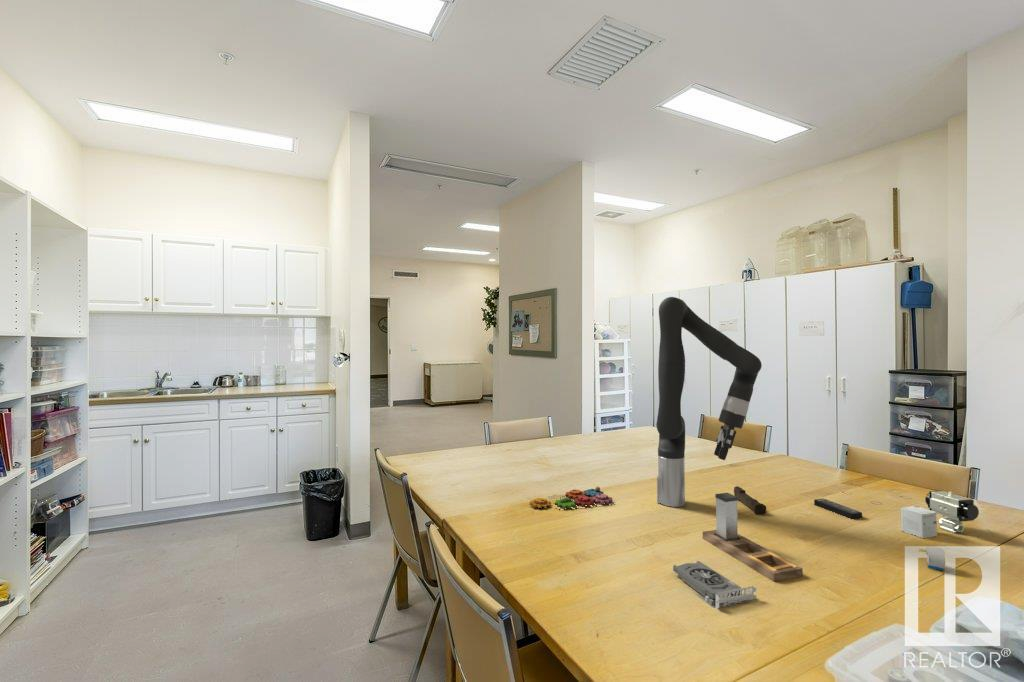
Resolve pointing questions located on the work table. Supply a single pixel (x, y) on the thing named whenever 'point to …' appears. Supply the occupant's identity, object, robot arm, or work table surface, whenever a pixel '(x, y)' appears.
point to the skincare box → (918, 521)
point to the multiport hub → (838, 508)
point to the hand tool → (749, 501)
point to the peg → (726, 516)
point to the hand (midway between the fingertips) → (719, 457)
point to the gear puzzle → (575, 499)
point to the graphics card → (713, 585)
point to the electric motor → (934, 558)
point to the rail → (756, 557)
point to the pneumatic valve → (952, 509)
